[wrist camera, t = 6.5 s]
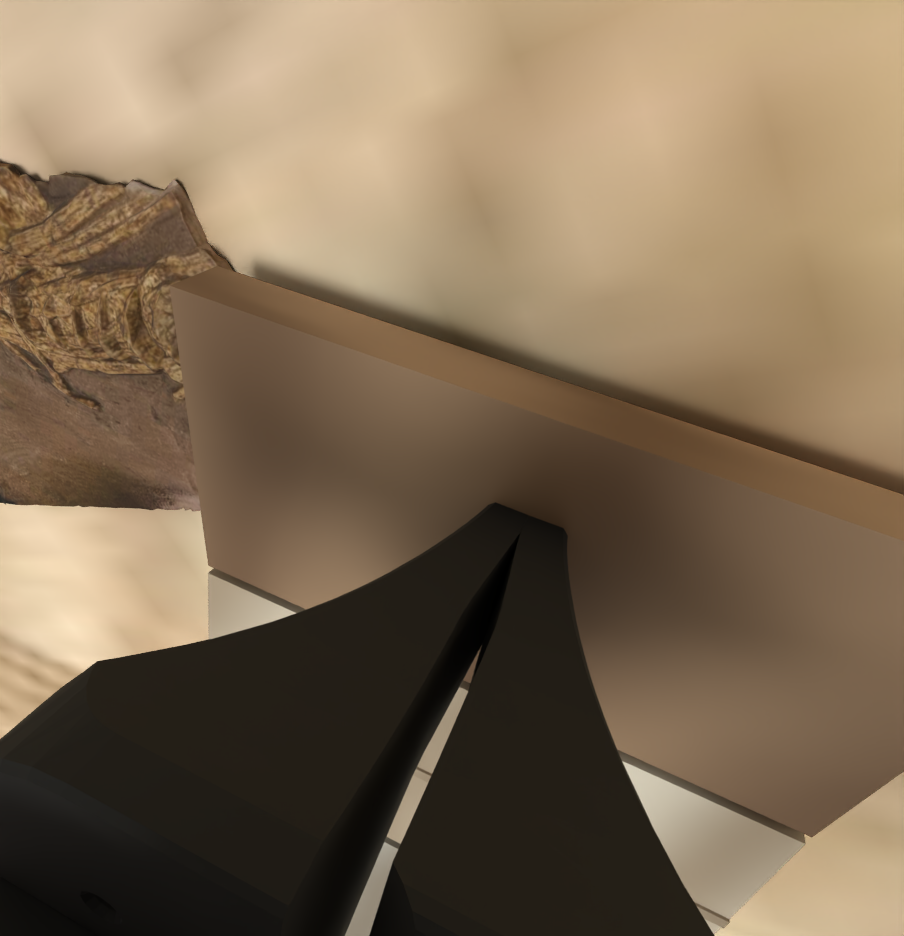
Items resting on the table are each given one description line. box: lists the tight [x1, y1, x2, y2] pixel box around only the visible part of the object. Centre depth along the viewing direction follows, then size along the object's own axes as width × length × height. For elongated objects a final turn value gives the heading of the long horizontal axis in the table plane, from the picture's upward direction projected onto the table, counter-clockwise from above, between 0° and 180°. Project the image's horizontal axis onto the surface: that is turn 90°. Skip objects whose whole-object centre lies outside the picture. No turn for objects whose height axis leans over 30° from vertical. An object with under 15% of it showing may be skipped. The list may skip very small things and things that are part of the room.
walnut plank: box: [170, 266, 904, 837], centre depth 11 cm, size 14×7×1 cm, turn 78°
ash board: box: [208, 568, 805, 934], centre depth 15 cm, size 14×7×1 cm, turn 78°
